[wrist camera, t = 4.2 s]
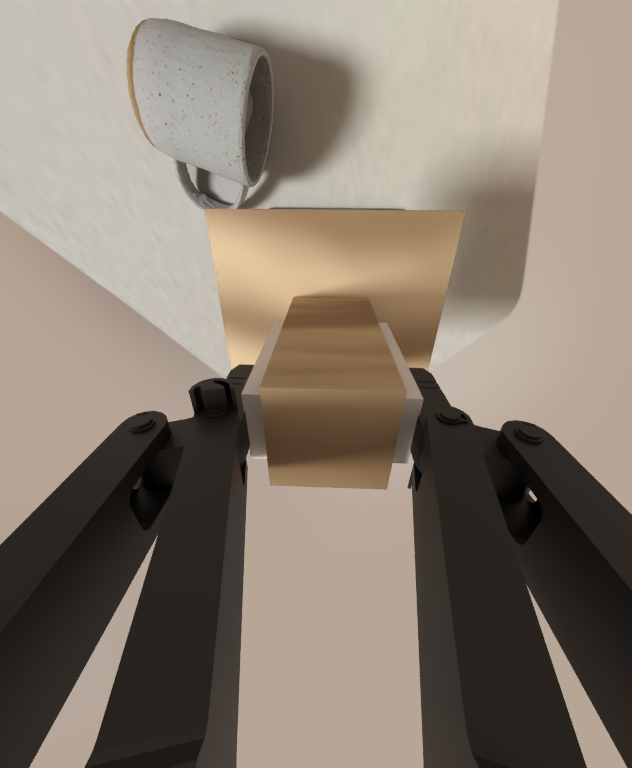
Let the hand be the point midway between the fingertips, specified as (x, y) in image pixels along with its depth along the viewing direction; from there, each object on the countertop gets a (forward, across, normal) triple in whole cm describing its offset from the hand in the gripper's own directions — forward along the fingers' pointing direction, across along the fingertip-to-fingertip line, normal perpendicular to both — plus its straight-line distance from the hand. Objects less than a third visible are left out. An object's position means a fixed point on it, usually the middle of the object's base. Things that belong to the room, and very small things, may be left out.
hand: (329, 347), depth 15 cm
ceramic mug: (+18, -9, +10) cm, 23 cm away
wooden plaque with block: (+3, 0, 0) cm, 3 cm away
